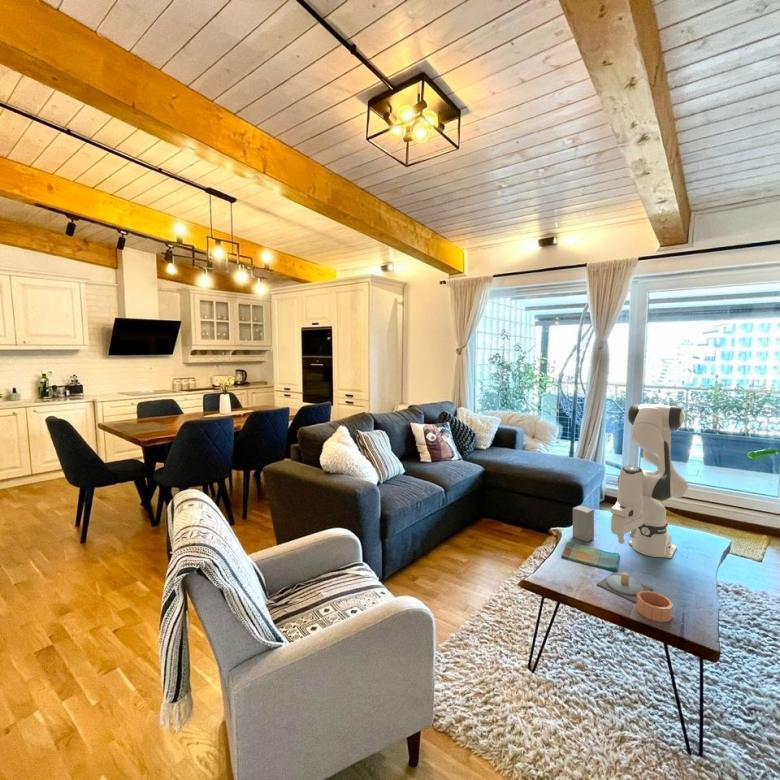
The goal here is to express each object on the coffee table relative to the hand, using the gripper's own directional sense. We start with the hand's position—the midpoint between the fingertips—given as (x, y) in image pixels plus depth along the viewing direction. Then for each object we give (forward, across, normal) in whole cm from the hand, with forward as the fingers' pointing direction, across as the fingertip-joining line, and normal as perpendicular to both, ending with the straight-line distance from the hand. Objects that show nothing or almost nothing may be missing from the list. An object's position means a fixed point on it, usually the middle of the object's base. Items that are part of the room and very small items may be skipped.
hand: (627, 540), depth 168 cm
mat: (+20, 0, 0) cm, 20 cm away
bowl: (+20, +8, +14) cm, 26 cm away
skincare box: (+20, -29, -34) cm, 49 cm away
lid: (+20, 0, 0) cm, 20 cm away
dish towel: (+21, -13, -21) cm, 32 cm away
